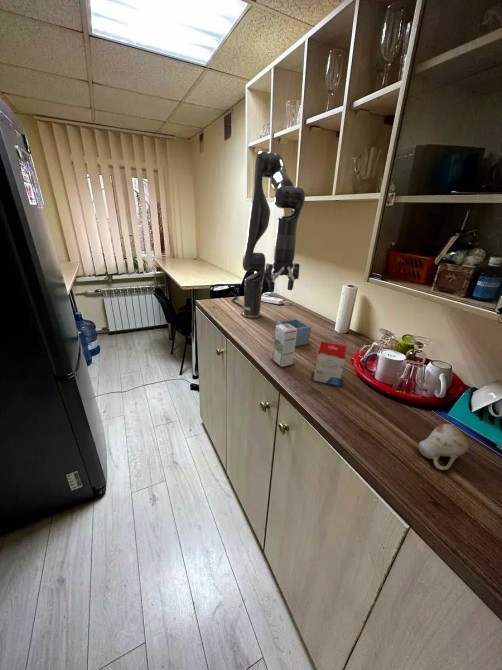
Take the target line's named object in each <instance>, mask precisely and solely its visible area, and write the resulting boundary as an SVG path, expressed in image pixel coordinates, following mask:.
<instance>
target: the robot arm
mask: <svg viewBox="0 0 502 670" xmlns="http://www.w3.org/2000/svg"><path fill="white" fill-rule="evenodd" d="M253 175H254V177H253V188H252V189H253V190H252V198H251V204H250V211H249V218H248V226H247V227H248V228H247V234H246V235H247V236H246V242H245V246H244V251H243V255H242V268H243V270H244V271H245V272H253V274H251V275H250V276H247V277H246V278H245V279H244V292H243V303H242V305H241V303H238V302H236V301H235V300H236V299H238V296H237V295H236V294H235V293H233V292H230V293H229V296H231V295H233V296H234V298H232V299H231V302H233V303H234V304H237V305H239V307H240V308H242V316H243V317H245V318H248V319H249V318H250V319H256V318H260V317H261V308H262V307H261V306H262V295H263V282H264V280H266V281H268V290H269V292H271V293H274V292H275V284H276V283H275V281H276V279H278V278H279V276H280V277H281V276H286V277H287V278H288V280H287V290H288V291H293V289H294V283H295V281H296V280H298V279H299V277H300V263H299V262H298V263H297V262H293V261H294V260H295V253H296V242H297V239H296V237H297V235H296V234H297V228H298V227H297V226H298V221H299V217H300V214H301V212H302V209H303V206H304V205H305V201H306V192H305V190H304V188H302V187H300V186H294V183H293V182H292V179H291V178H290V177H289V175H288V173H287V169H286V165H285V161H284V158H283V156H282V155H281V154H280V153H277V152H272V151H266V150H259V151H258V152H257V154H256V157H255V165H254V174H253ZM264 178H267V179H270V186H271V188H272V191H273V192H274V199H273V201H274V205H275V207H277V208H279V209H282V210H283V209H284V210H285V209H286V210H290V213H289V214H288V215H281V216H279V217H278V218H277V223H276V232H275V233H276V234H275V240H274V250H273V263H268V262H267V263H266V256H265V254H264V253H263V252H254V251H255V249H256V246H257V244H258V242H259V241H260V239H261V238H262V236H263V235H264V234H265V233H266V231H267V229H268V228H269V225H270V224H269V222H270V218H271V208H270V205H269V203H268V200H267V198H266V196H265V191H264V186H263V179H264Z"/></svg>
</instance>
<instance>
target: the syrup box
mask: <svg viewBox="0 0 502 670" xmlns="http://www.w3.org/2000/svg"><path fill="white" fill-rule="evenodd" d="M296 335H297V328H295V327H293V326H291V325H290V324H280V325H277V324H276V325H275V331H274V341H273V342H274V343H273V354H272V361H273V362H274V363H275V364H277V365H278V366H279V367H281V368H282V367H287V366H291V365H293V364H294V356H295V349H296V346H295V342H296Z"/></svg>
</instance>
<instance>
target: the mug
mask: <svg viewBox="0 0 502 670" xmlns="http://www.w3.org/2000/svg"><path fill="white" fill-rule="evenodd" d="M418 451H419V453H420V454H421V455H422V456H423V457H425V458H426V459H429V460H433V466H434V467H435V468H436V469H438V470H440V471H447V470H449V469H450V468H451V467H452V465H453V463H454V462H455V461H456V460H457V459H458V458H459V457H460V456H463V455H464V454H466V453H467V452H468V451H469V443H468V441H467V439H466V437H465V435H464V434H463V433H462V431H460V430H459V429H458V428H456V427H455V426H454V425H452V424H449V423H444V424H440V425H438V426H436V427H435V428H434V429H433V430H432V431H431V433H430V434H429V436H428V437H427V438H425V439H424V440H421V441H420V442H419V443H418ZM440 457H449V461H448V463H447V464H446V465H445V466H443V465H440V463H439V459H440Z"/></svg>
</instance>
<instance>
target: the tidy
mask: <svg viewBox="0 0 502 670" xmlns="http://www.w3.org/2000/svg"><path fill="white" fill-rule="evenodd" d="M280 324H290V325H291V326H293V327H295V328H297V335H296V342H295V347H298V346H299V347H300V346H304V345H310V344H309V343H310V338H311V337H310V336H311V331H312V326H311V325H309V324H307V323H306V322H303V321H301V320H300V319H297V318H291V319H286V320H285V319H284V320H277V321H276V325H280Z"/></svg>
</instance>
